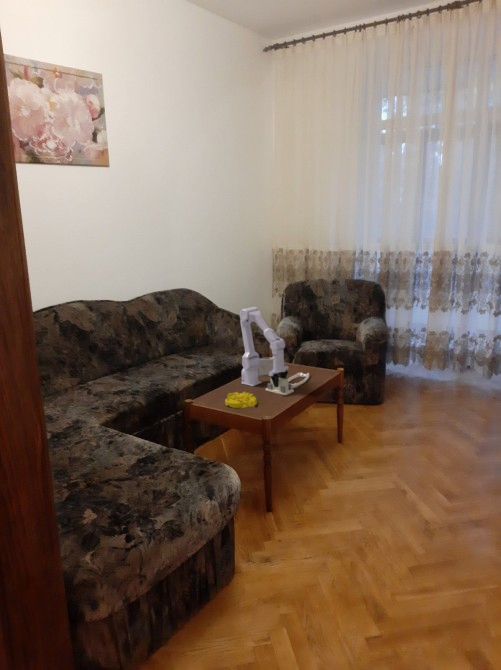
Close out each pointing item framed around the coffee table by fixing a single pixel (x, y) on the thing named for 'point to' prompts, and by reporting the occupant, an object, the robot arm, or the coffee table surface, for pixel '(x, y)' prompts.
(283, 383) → the long rectangular block
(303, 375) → the door handle
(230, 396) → the yellow textured disc
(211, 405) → the coffee table surface
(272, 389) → the plate with corner feet
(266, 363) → the hinge
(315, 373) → the coffee table surface
